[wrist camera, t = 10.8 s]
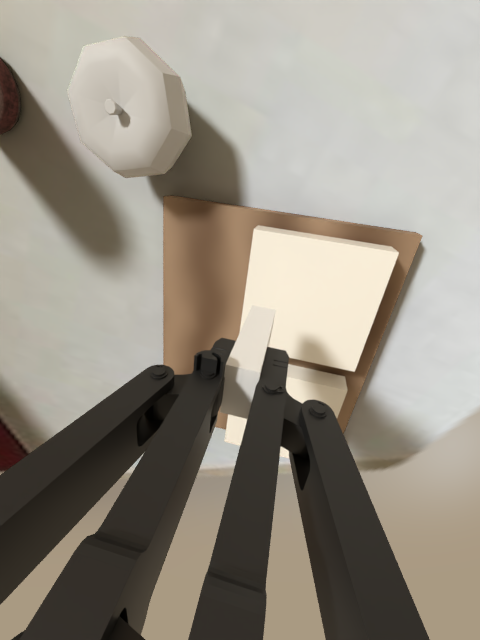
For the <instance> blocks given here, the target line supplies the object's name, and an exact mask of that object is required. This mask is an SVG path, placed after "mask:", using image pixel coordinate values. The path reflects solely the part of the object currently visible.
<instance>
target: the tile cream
mask: <svg viewBox="0 0 480 640" xmlns="http://www.w3.org/2000/svg"><path fill="white" fill-rule="evenodd" d="M398 254H399V252H398V251H397V250H395V249H394V248H393V247H391V246H385V245H379V244H372V243H366V242H360V241H354V240H347V239H341V238H335V237H329V236H322V235H316V234H310V233H303V232H297V231H291V230H285V229H278V228H272V227H266V226H260V225H258V226H257V227H255V228H254V231H253V238H252V245H251V252H250V260H249V267H248V274H247V282H246V289H245V296H244V303H243V311H242V318H241V325H240V331H241V329H242V327H243V325H244V322H245V320H246V318H247V316H248V313H249V311H250V309H251V307H252V305H254V306H259V307H264V308H269V309H274V310H276V312H275V317H274V323H273V328H272V333H271V338H270V343H269V347H271V348H276V349H280V350H285V351H286V352H287V354H288V356H289V358H293V359H298V360H302V361H307V362H312V363H316V364H321V365H325V366H330V367H335V368H339V369H344V370H349V371H353V372H355V370H356V367H357V364H358V362H359V359H360V356H361V354H362V351H363V348H364V346H365V343H366V340H367V337H368V335H369V332H370V329H371V327H372V324H373V321H374V319H375V316H376V313H377V311H378V308H379V305H380V303H381V300H382V297H383V295H384V292H385V289H386V287H387V284H388V281H389V278H390V276H391V273H392V270H393V268H394V265H395V262H396V260H397V257H398ZM239 333H240V332H239Z"/></svg>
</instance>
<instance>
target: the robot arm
mask: <svg viewBox="0 0 480 640" xmlns="http://www.w3.org/2000/svg"><path fill="white" fill-rule="evenodd" d="M275 312H276V310H274V309H269V308H264V307H259V306H254V305H252V307H251V309H250V311H249V313H248V316H247V318H246V320H245V322H244V325H243V327H242V329H241V331H240V333H239V336H238V338H237V340H236V341H235V340H230V339H226V338H220V339H219V340H217V341H215V343H214V345H213V347H212V348H211V350H204V351H200V352H198V353H196V354H195V355H194V370H193V372H192V373H191V374H184V375H174V371H173V369H172V368H170V367H169V366H166V365H154V366H151V367H149V368H147V369H145V370H144V371H143V372H141V373H140V374H139V375H137V376H136V377H134V378H133V379H132V380H130V381H129V382H128V383H126V384H125V385H123V386H122V387H121V388H119V389H118V390H117V391H115V392H114V393H112V394H111V395H110V396H108V397H107V398H106V399H104V400H103V401H101V402H100V403H99V404H97V405H96V406H95V407H93V408H92V409H90V410H89V411H88V412H86V413H85V414H84V415H82V416H81V417H79V418H78V419H77V420H75V421H74V422H73V423H71V424H70V425H68V426H67V427H66V428H64V429H63V430H62V431H60V432H59V433H57V434H56V435H55V436H53V437H52V438H51V439H49V440H48V441H46V442H45V443H44V444H42V445H41V446H40V447H38V448H37V449H35V450H34V451H33V452H31V453H30V454H29V455H27V456H26V457H24V458H23V459H22V460H20V461H19V462H18V463H16V464H15V465H13V466H12V467H11V468H9V469H8V470H7V471H5V472H4V473H2V474H1V475H0V604H1V603H2V602H3V601H4V600H5V599H6V598H7V597H8V596H9V595H10V594H11V593H12V592H13V591H14V590H15V589H16V588H17V587H18V585H19V584H20V583H21V582H22V581H23V580H24V579H25V578H26V577H27V576H28V575H29V574H30V573H31V572H32V571H33V570H34V568H35V567H36V566H37V565H38V564H39V563H40V562H41V561H42V560H43V559H44V558H45V557H46V556H47V555H48V554H49V552H50V551H52V549H53V548H54V547H55V546H56V545H57V544H58V543H59V542H60V541H61V540H62V539H63V538H64V537H65V536H66V535H67V534H68V533H69V531H70V530H71V529H72V528H73V527H74V526H75V525H76V524H77V523H78V522H79V521H80V520H81V519H82V518H83V517H84V516H85V515H86V513H87V512H88V511H89V510H90V509H91V508H92V507H93V506H94V505H95V504H96V503H97V502H98V501H99V500H100V498H101V497H102V496H103V495H104V494H105V493H106V492H107V491H108V490H109V489H110V488H111V487H112V486H113V485H114V484H115V483H116V482H117V481H118V480H119V479H120V477H121V476H122V475H123V474H124V473H125V472H126V471H127V470H128V469H129V468H130V467H131V466H132V465H133V464H134V463H135V462H136V461H137V459H138V458H139V457H140V456H141V455H142V454H143V453H144V452H145V453H144V455H143V456H142V458H141V460H140V461H139V463H138V465H137V466H136V468H135V470H134V471H133V473H132V475H131V476H130V478H129V480H128V481H127V483H126V485H125V486H124V488H123V490H122V492H121V493H120V495H119V497H118V498H117V500H116V502H115V503H114V505H113V507H112V508H111V510H110V512H109V513H108V515H107V517H106V519H105V520H104V522H103V523H102V525H101V527H100V528H99V529H98V531H97V532H96V533H95V534H93V535H90V536H87V537H86V538H85V539H84V540H83V541H82V542H81V543H80V545H79V546H78V547H77V549H76V550H75V552H74V553H73V555H72V556H71V558H70V560H69V561H68V563H67V564H66V566H65V568H64V570H63V571H62V572H61V574H60V576H59V577H58V579H57V580H56V582H55V584H54V585H53V587H52V588H51V590H50V592H49V593H48V595H47V596H46V598H45V600H44V601H43V603H42V604H41V606H40V608H39V609H38V611H37V612H36V614H35V616H34V617H33V619H32V620H31V622H30V624H29V625H28V627H27V628H26V630H24V631H23V632H21V633H20V634H18V635H17V636H16V637H14V638H13V639H12V640H145V639H144V638H143V637H142V636H141V632H142V629H143V626H144V622H145V619H146V615H147V610H148V606H149V602H150V599H151V596H152V593H153V590H154V588H155V585H156V582H157V580H158V577H159V574H160V571H161V569H162V566H163V564H164V561H165V558H166V556H167V553H168V550H169V548H170V545H171V542H172V539H173V537H174V534H175V531H176V529H177V526H178V523H179V521H180V518H181V516H182V513H183V510H184V508H185V505H186V502H187V500H188V497H189V494H190V491H191V489H192V486H193V484H194V481H195V478H196V476H197V473H198V470H199V468H200V465H201V462H202V460H203V457H204V454H205V452H206V449H207V446H208V444H209V441H210V438H211V436H212V433H213V430H214V428H215V425H216V422H217V417H218V411H219V409H220V412H221V413H225V414H229V415H233V416H237V417H241V418H245V419H247V423H246V426H245V430H244V434H243V438H242V442H241V446H240V449H239V453H238V457H237V461H236V465H235V469H234V473H233V476H232V480H231V484H230V488H229V492H228V496H227V500H226V504H225V507H224V512H223V515H222V519H221V523H220V527H219V530H218V534H217V538H216V543H215V546H214V550H213V554H212V558H211V562H210V565H209V568H208V572H207V574H206V576H205V580H204V583H203V586H202V590H201V594H200V598H199V602H198V605H197V609H196V613H195V616H194V620H193V624H192V628H191V632H190V635H189V639H188V640H263V632H264V622H265V611H266V590H265V588H266V576H267V566H268V557H269V548H270V539H271V530H272V521H273V511H274V502H275V492H276V484H277V475H278V465H279V456H280V447H283V448H285V449H286V450H288V451H289V458H290V463H291V468H292V473H293V478H294V483H295V488H296V493H297V498H298V503H299V508H300V513H301V518H302V523H303V528H304V533H305V538H306V543H307V548H308V553H309V558H310V563H311V568H312V572H313V578H314V583H315V587H316V593H317V598H318V603H319V607H320V613H321V618H322V623H323V628H324V633H325V638H326V640H429V637H428V635H427V632H426V630H425V628H424V625H423V623H422V620H421V618H420V616H419V613H418V611H417V608H416V606H415V604H414V601H413V599H412V597H411V595H410V592H409V590H408V587H407V585H406V582H405V580H404V578H403V575H402V573H401V571H400V568H399V566H398V563H397V561H396V559H395V556H394V554H393V551H392V549H391V547H390V544H389V542H388V540H387V537H386V535H385V532H384V530H383V528H382V525H381V523H380V521H379V519H378V516H377V514H376V511H375V509H374V506H373V504H372V502H371V499H370V497H369V495H368V492H367V490H366V487H365V485H364V483H363V480H362V478H361V475H360V473H359V471H358V468H357V466H356V464H355V461H354V459H353V456H352V454H351V452H350V449H349V447H348V445H347V442H346V440H345V437H344V435H343V433H342V430H341V428H340V426H339V423H338V421H337V418H336V416H335V414H334V412H333V410H332V409H331V407H329V406H328V405H327V404H326V403H324V402H321V401H319V400H314V399H313V400H307V401H305V402H304V403H301V402H299V401H297V400H295V399H293V398H292V397H291V396H290V395H289V394H288V392H287V390H286V380H287V371H288V362H289V356H288V354H287V352H286V351H285V350H280V349H276V348H271V347H269V343H270V338H271V333H272V328H273V323H274V317H275ZM220 406H221V407H220Z"/></svg>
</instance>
